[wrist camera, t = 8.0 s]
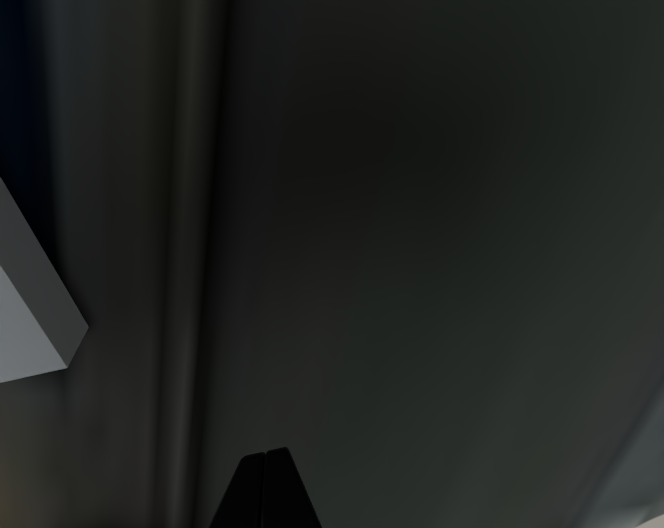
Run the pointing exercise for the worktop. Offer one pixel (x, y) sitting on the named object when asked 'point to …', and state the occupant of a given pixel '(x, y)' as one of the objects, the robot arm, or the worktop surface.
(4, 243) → the slate board
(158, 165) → the worktop surface
